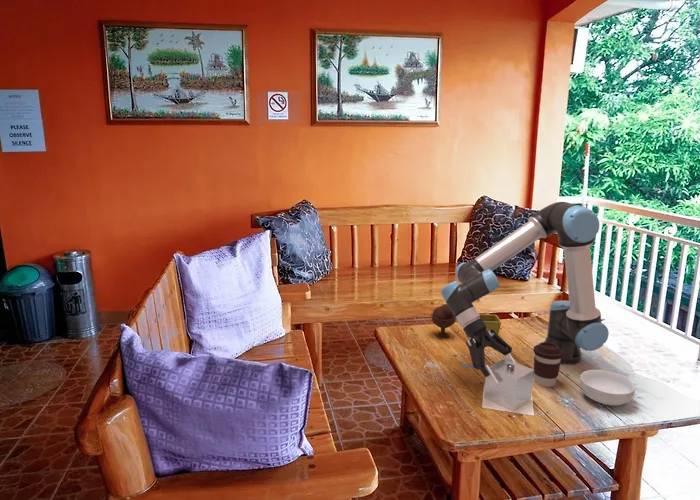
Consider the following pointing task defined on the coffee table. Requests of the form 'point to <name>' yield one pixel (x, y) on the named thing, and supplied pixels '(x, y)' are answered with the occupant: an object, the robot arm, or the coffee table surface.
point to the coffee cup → (547, 363)
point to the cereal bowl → (607, 387)
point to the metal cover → (510, 385)
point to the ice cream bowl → (443, 319)
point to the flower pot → (491, 322)
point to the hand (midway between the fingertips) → (506, 378)
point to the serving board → (523, 409)
